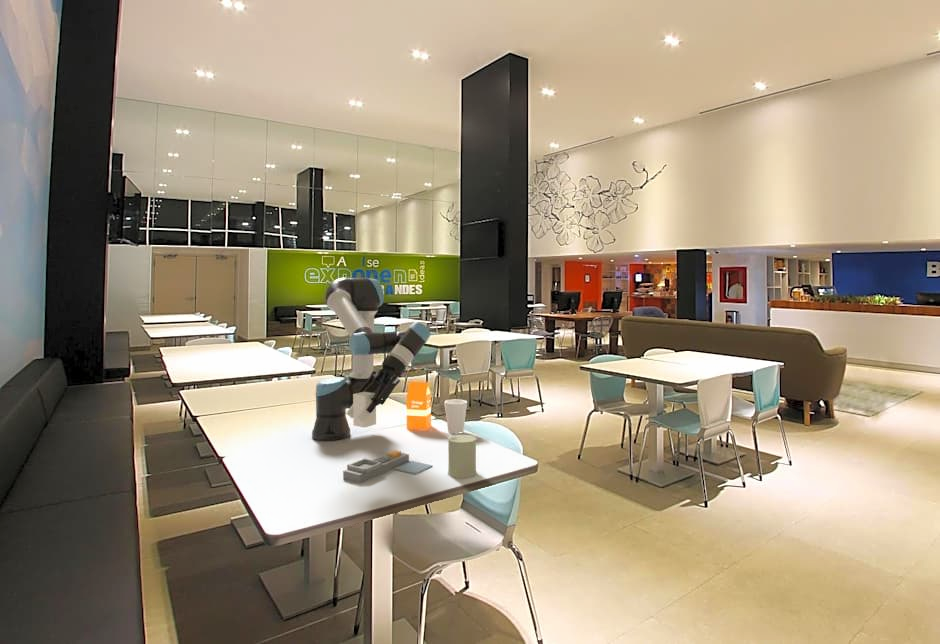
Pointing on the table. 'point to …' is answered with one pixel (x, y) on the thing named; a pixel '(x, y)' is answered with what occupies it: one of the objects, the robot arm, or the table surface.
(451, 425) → the foam cup
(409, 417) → the orange juice
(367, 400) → the white tall block
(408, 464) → the mat
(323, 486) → the table surface
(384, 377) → the robot arm
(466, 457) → the can
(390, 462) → the strip
